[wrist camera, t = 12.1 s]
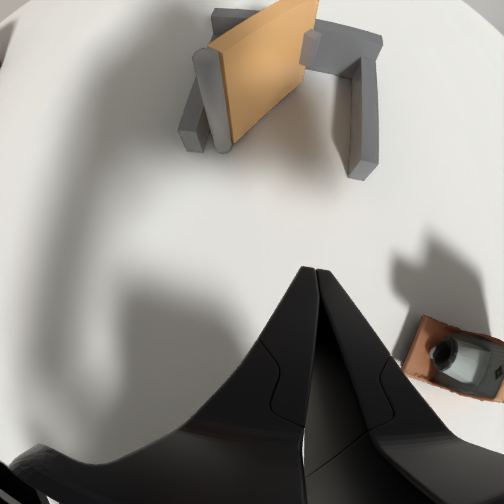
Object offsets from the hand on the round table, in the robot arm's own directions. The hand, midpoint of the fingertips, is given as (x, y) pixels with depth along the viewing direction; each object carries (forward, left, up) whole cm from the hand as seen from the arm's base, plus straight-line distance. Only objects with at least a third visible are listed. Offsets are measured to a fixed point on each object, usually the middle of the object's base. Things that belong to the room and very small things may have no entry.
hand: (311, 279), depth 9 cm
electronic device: (+3, -14, -11) cm, 18 cm away
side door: (+10, +8, -11) cm, 17 cm away
